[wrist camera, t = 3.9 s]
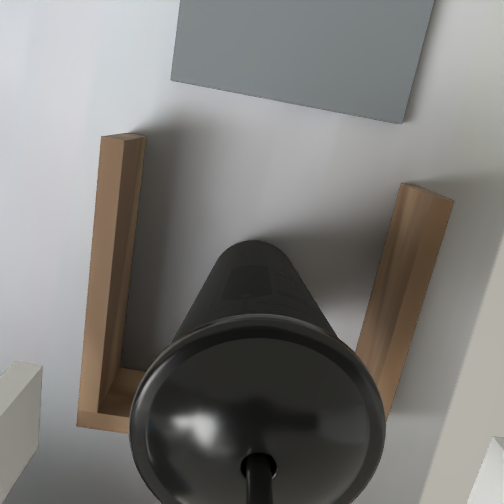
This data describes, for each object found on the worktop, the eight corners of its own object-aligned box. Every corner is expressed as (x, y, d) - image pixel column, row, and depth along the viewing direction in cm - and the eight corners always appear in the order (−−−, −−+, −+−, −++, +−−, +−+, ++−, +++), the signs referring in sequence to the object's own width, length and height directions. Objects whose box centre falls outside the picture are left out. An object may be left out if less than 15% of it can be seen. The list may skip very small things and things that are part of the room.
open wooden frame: (102, 379, 28) (76, 426, 24) (127, 132, 24) (101, 136, 20) (353, 417, 29) (371, 469, 25) (418, 186, 25) (454, 200, 21)
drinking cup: (160, 287, 27) (-64, 722, 8) (245, 187, 25) (238, 418, 6) (259, 363, 28) (284, 890, 9) (345, 273, 27) (601, 682, 7)
